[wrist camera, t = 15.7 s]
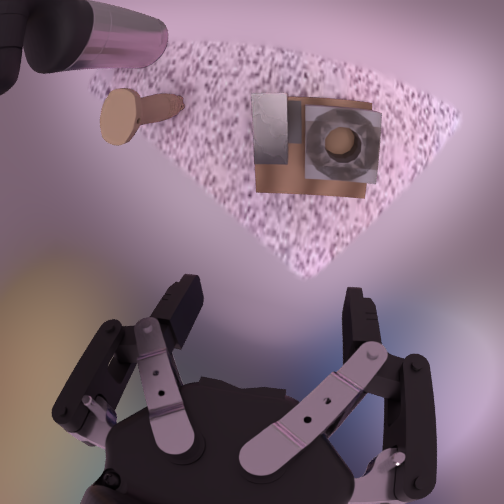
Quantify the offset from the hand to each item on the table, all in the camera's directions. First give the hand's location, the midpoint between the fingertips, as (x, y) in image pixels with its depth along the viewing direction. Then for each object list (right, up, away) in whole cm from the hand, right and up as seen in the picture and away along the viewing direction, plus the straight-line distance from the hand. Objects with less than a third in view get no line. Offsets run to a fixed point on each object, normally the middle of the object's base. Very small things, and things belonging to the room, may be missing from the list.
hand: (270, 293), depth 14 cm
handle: (-12, +25, +21) cm, 35 cm away
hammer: (+2, +20, +18) cm, 27 cm away
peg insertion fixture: (+8, +17, +22) cm, 29 cm away
